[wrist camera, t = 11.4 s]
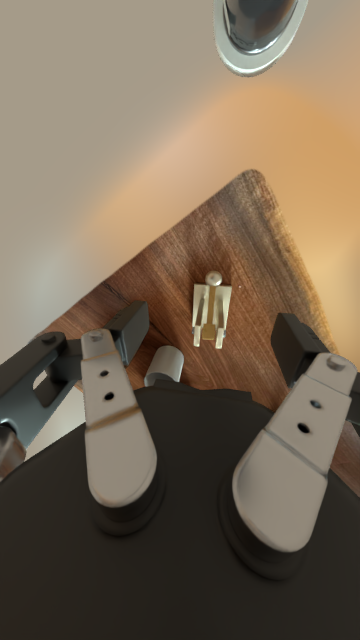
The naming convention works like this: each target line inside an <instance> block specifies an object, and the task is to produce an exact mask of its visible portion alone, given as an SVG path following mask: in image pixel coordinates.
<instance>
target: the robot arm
mask: <svg viewBox="0 0 360 640" xmlns="http://www.w3.org/2000/svg"><path fill="white" fill-rule="evenodd" d="M297 3H298V0H223V23H224V28H225V32H226V35H227V38H228V40H229V42H230V44H231V45H232V46H233V48H234V49H235V50H236V51H238V52H239V53H241V54H243V55H247V56H254V55H258V54H261V53H263V52H265V51H266V50H268V49H269V48H270V47H272V46H273V45H274V44H275V43H276V42H277V41H278V39H279V38H280V37H281V36H282V34H283V33H284V31H285V30H286V28H287V26H288V24H289V22H290V20H291V18H292V16H293V14H294V11H295V8H296V6H297ZM148 329H149V314H148V304H147V302H146V301H134V302H133V303H132V304H131V305H130V306H129V307H126V308H124V309H122V310H120V311H119V312H118V313H117V314H116V315H115V316H114V317H113V319H111V320H110V321H109V322H108V323H107V324H106V325H105V326H104V327H103V328H98V329H93V330H90V331H88V332H86V333H85V334H83V335H82V337H81V339H74V340H66V337H65V334H64V333H62V332H50V333H46V334H43V335H41V336H39V337H37V338H36V339H34V340H33V341H32V342H30V343H29V344H28V345H26V346H25V347H24V348H22V349H21V350H20V351H19V352H17V353H16V354H15V355H13V356H12V357H11V358H9V359H8V360H7V361H5V362H4V363H3V364H1V365H0V640H360V498H359V497H358V496H357V495H356V494H355V493H354V492H353V491H352V490H351V489H350V488H349V487H348V486H347V485H346V484H345V483H344V482H343V481H342V480H341V479H340V478H339V477H338V476H337V475H336V474H335V473H334V472H333V471H332V470H331V468H330V464H331V461H332V458H333V455H334V452H335V449H336V446H337V443H338V440H339V437H340V434H341V431H342V428H343V425H344V422H345V420H346V421H349V422H351V423H352V425H353V426H354V428H355V430H356V432H357V434H358V435H359V437H360V373H359V372H357V368H356V366H355V365H354V364H353V363H351V362H350V361H349V360H347V359H345V358H344V357H341V356H339V355H336V354H333V353H330V352H329V350H328V349H327V348H326V347H325V345H324V344H323V343H322V342H321V340H319V338H318V337H317V335H315V333H314V331H313V330H312V329H311V328H310V327H308V326H307V325H305V324H304V323H301V322H300V321H299V320H298V318H297V317H296V316H295V314H289V313H279V314H278V315H277V318H276V321H275V325H274V328H273V331H272V335H271V346H272V348H273V351H274V353H275V356H276V358H277V361H278V363H279V366H280V369H281V371H282V374H283V376H284V379H285V381H286V384H287V386H288V388H292V389H291V391H290V392H289V394H288V395H287V396H286V398H285V399H284V401H283V402H282V404H281V405H280V406H279V408H278V409H277V411H276V412H275V413H274V412H273V411H271V410H270V409H268V408H267V407H265V406H263V405H262V404H259V403H257V402H255V401H252V396H251V392H246V391H239V390H232V389H214V390H199V389H196V388H193V387H191V386H188V385H185V384H183V383H180V382H176V381H169V380H162V379H156V380H155V382H154V385H153V386H147V387H143V388H139V389H137V390H134V391H133V390H132V387H131V384H130V381H129V378H128V376H127V373H126V370H125V367H124V365H127V366H128V365H129V363H130V361H131V359H132V358H133V356H134V354H135V353H136V351H137V349H138V347H139V346H140V344H141V342H142V341H143V339H144V337H145V335H146V334H147V332H148ZM44 370H45V372H46V374H47V377H46V378H45V379H44V380H43V381H42V382H41V383H40V384H39V385H38V386H37V388H35V389H34V390H33V383H34V381H35V379H36V378H37V377H38V376H39V375H40V374H41V373H42V372H43V371H44ZM81 379H82V383H83V395H84V406H85V417H86V422H84V423H83V424H81V425H80V426H78V427H77V428H75V429H74V430H72V431H71V432H69V433H68V434H66V435H65V436H63V437H61V438H60V439H58V440H57V441H55V442H54V443H52V444H51V445H49V446H48V447H46V448H45V449H44V450H42V451H40V452H39V453H37V454H36V455H34V456H33V457H31V458H30V459H28V460H27V461H25V462H24V460H25V457H26V449H27V448H28V446H29V445H30V443H31V442H32V441H33V439H34V438H35V437H36V435H37V434H38V433H39V432H40V430H41V429H42V428H43V426H44V425H45V423H46V422H47V421H48V419H49V418H50V417H51V415H52V414H53V413H54V411H55V410H56V409H57V407H58V406H59V405H60V403H61V402H62V401H63V399H64V398H65V397H66V395H67V394H68V393H69V391H70V390H71V389H72V387H73V386H74V385H75V383H76V382H77V381H78V380H81Z"/></svg>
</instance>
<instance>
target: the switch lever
mask: <svg viewBox="0 0 360 640" xmlns="http://www.w3.org/2000/svg"><path fill="white" fill-rule="evenodd" d="M205 282H206V284H207V285H208V286H209V287H210V292H209V302H208V313H207V323H203V332H202V339H209V340H214V338H215V327H216V325H215V324H213V313H214V302H215V292H216V287H218V286H219V285H220V284H221V282H222V275H221V274H220V273H219V272H218V271H210V272H209V273H207V275H206V277H205Z"/></svg>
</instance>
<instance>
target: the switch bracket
mask: <svg viewBox="0 0 360 640" xmlns="http://www.w3.org/2000/svg"><path fill="white" fill-rule="evenodd" d="M231 289H232V285H224V284H220V285H219V286H218V287H216V292H215V302H214V313H213V324H215V325H216V327H215V329H216V348H219V349H221V346H222V340H223V337H225V334H226V330H225V328H226V322H227V315H228V309H229V302H230V296H231ZM209 292H210V287H209V286H208V285H207V284H206V283H195V284H194V301H193V322H192V327H193V329H192V334H194V346H199V343H200V336H201V329H202V328H203V323H207V313H208V302H209Z"/></svg>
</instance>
